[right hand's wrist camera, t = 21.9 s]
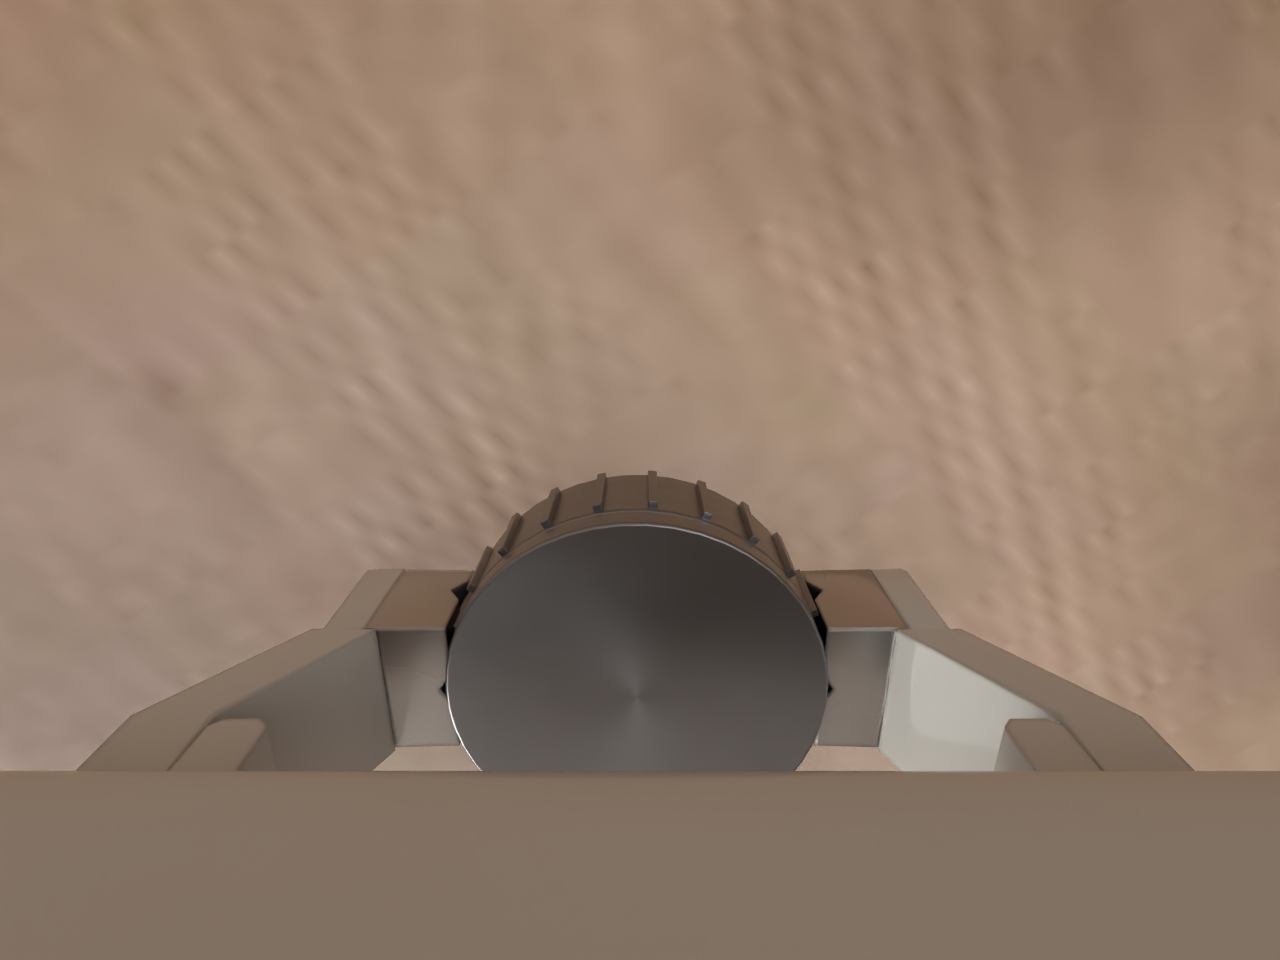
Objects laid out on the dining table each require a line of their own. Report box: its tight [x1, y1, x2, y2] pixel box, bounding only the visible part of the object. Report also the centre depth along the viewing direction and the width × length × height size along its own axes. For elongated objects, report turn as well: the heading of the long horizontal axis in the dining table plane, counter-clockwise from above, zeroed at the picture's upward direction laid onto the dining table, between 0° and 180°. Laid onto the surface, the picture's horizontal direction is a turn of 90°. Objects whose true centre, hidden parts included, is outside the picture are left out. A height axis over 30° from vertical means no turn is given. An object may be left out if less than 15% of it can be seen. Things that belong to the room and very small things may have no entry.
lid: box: [445, 471, 828, 771], centre depth 9 cm, size 5×5×2 cm
